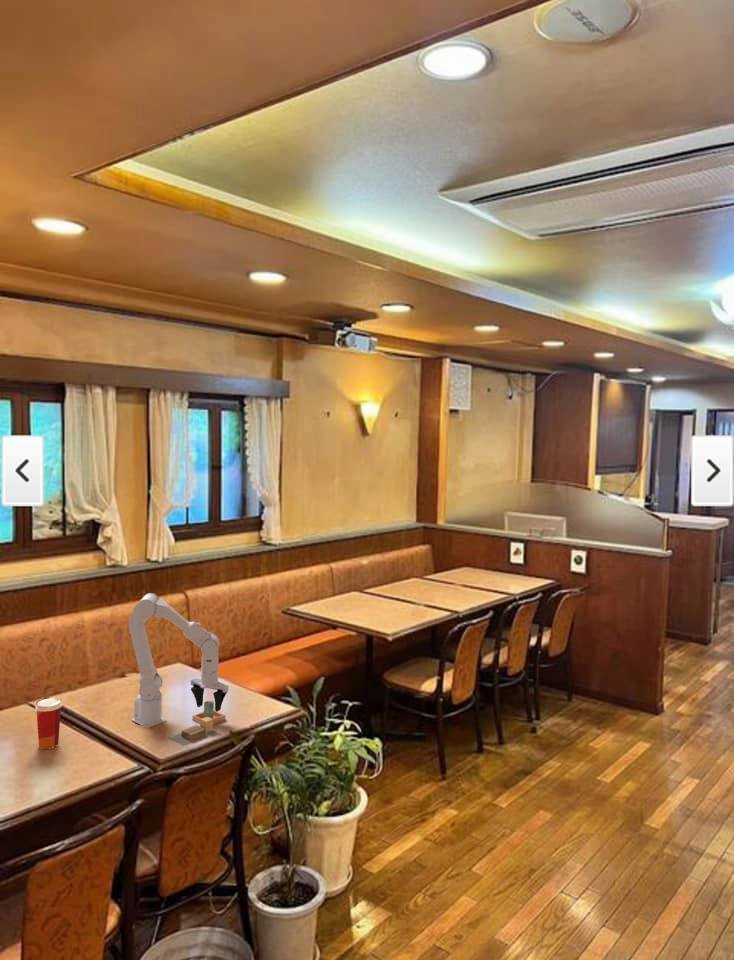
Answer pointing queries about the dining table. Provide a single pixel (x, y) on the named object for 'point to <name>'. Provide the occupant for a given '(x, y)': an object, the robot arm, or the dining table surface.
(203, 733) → the brown rectangular block
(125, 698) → the dining table surface
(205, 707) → the dowel
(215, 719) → the tray
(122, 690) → the dining table surface
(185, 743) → the bench
